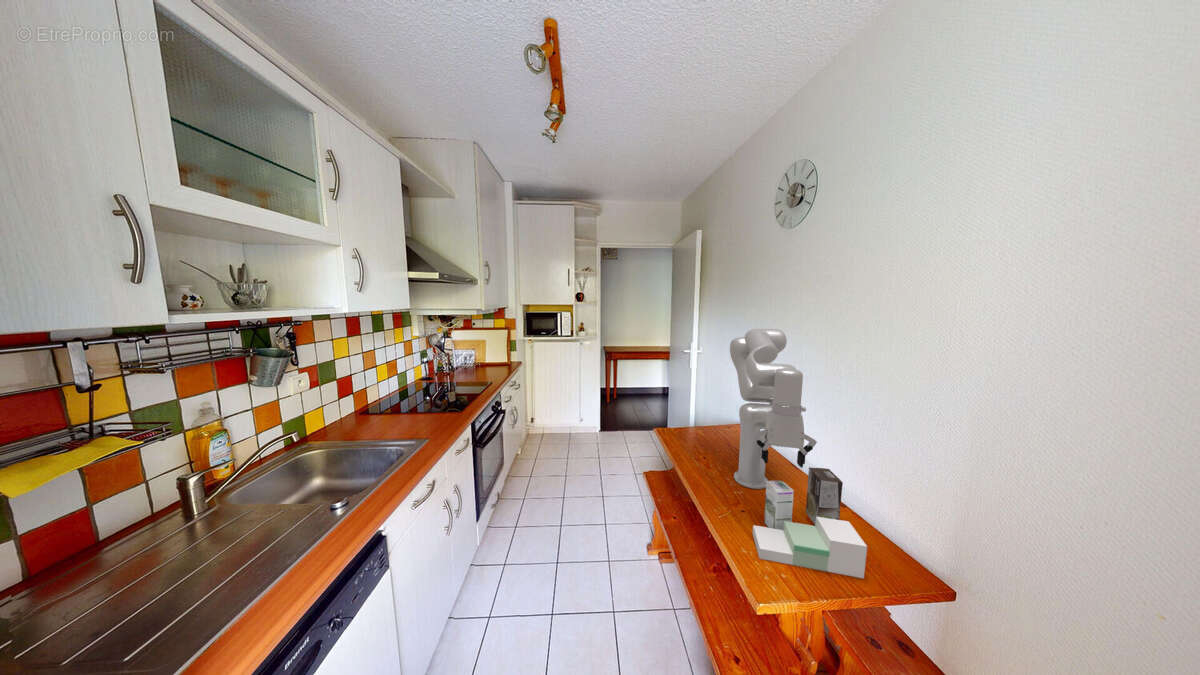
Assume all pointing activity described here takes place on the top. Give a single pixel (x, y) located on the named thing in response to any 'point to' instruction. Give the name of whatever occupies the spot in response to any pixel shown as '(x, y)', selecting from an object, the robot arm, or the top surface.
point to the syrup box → (778, 504)
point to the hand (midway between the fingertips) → (782, 463)
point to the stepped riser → (814, 546)
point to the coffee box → (823, 494)
